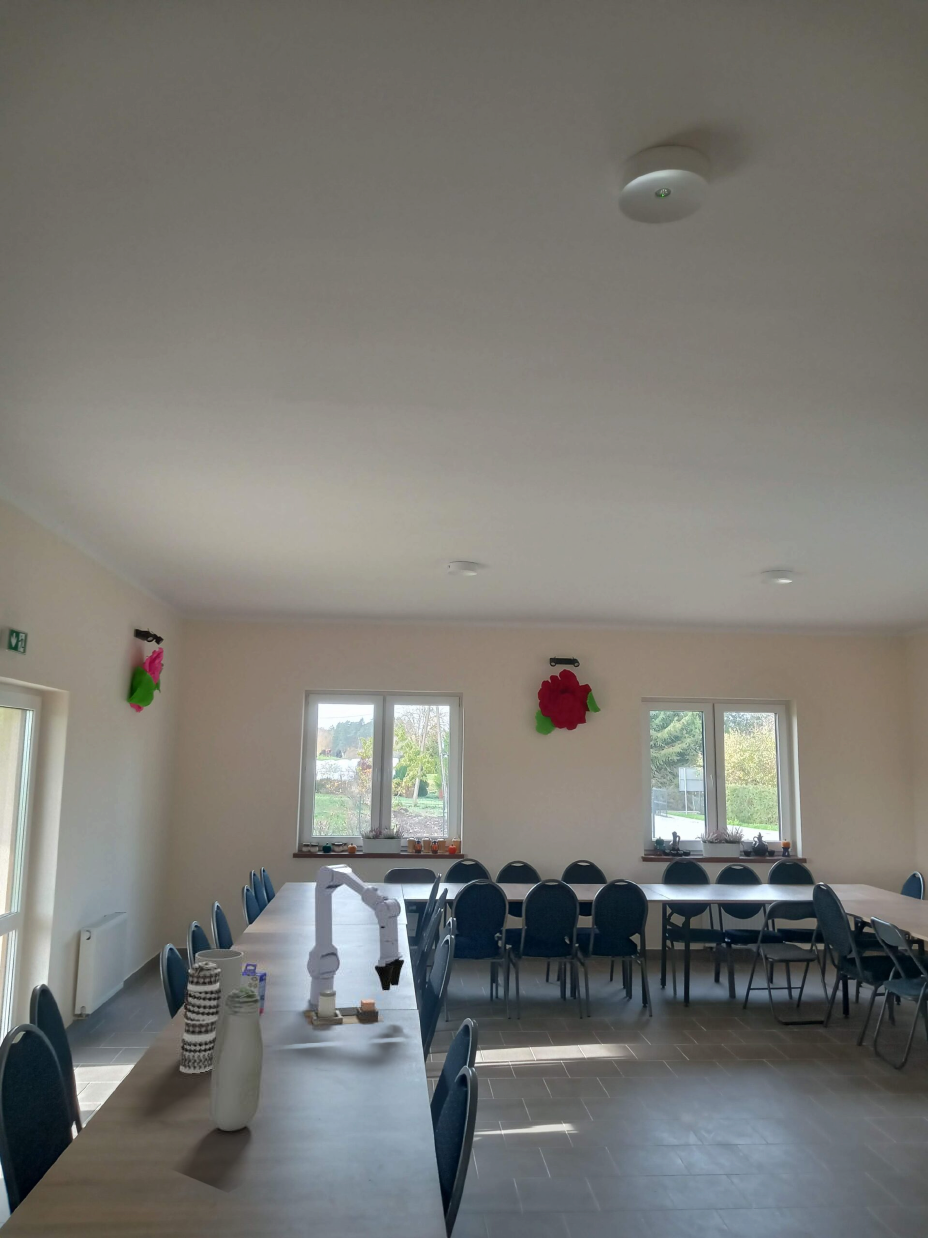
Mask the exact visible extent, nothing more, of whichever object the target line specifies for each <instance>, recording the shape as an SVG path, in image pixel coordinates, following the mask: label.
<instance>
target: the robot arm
mask: <svg viewBox="0 0 928 1238" xmlns="http://www.w3.org/2000/svg"><path fill="white" fill-rule="evenodd" d="M315 876H316V881H315V882H316V883H315V887H314V918H315V919H314V921H315V922H314V923H315V924H314V928H315V930H314V931H315V934H314V935H315V941H314V942H315V945H314V946H313V947H312V948H311V950H310V951H309V952H308V960H307V963H306V969H307V972H308V974H309V977H311V979H310V990H309V991H310V992H309V1003H310V1004H312V1005H315V1006H319V992H320V991H321V990H334V986H335V985H334V983H335V976H336V973H337V971H338V970H339V968H340V965H341V962H340V961H341V960H340V957H339V953H338V952H339V951H338V948H337V947H336V946H335V945H334V944H333V900H332V899H333V896H332V895H333V893H334V892H336V891H337V889H338V888H340V887H341V886H343V885H344V886H346V887H348V888H350V889H351V890H352V891H353V892H355V893H356V894H358V895H360V899H361V900H360V901H361V902H362V903H364V904H365V905H366V906H367V907H368V908H370V909H371V910H372V911H373V912H374V915H375V918H376V919H377V924H378V928H379V929H378V930H379V931H378V932H379V936H378V937H379V956H378V957H379V958H378V960H377V964H376V965H374V970H375V971H376V974H377V976H378V979H379V982H380V985H381V990H382V991H390V990H391V986H398V985H399V984H400V976H401V971H402V968H403V966H404V963H405V960H404V959H402V958H403V954H401V952H400V951H399V931H398V930H399V928H398V927H399V926H398V925H399V924H398V917H399V916H400V914H401V912H402V907H401V904H400V902H399V901H398V900H397V898H389V896H388V895H387V894H384V893H383V892H382V891H380V890H379V887H378V886H377V885H375V886H373V885H370V886H368V885H367V884H365V883H364V882H363V880H362V879H361V878H359V877H358V876H357V875H356V874H355V873H354V872H353V869H352V868H351V867H349V866H348V865H347V864H345V863H341V864H336V865H323V866H322V867H320V868H319V869H318V871H316V874H315Z"/></svg>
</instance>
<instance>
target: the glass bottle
mask: <svg viewBox="0 0 928 1238" xmlns="http://www.w3.org/2000/svg"><path fill="white" fill-rule="evenodd" d="M259 1010H260V998H259V995H258V993H257V991H256V990H254V989H252V988H250V987H244V988H238V989H235V990H233V991H232V992H231V993H230V994H229V995H228V996H227V998H226V1001H225V1012H224V1015H223V1019H222V1023H221V1027H220V1030H219V1032H218V1035H217V1038H216V1042H215V1045H214V1051H213V1062H212V1070H211V1081H210V1094H209V1095H210V1097H209V1112H210V1113H209V1114H210V1118H211V1121H212V1123H213V1125H215V1127H217V1128H218V1129H220V1130H221V1131H226V1132H227V1131H228V1132H235V1131H238V1130H241V1129H243V1128H244V1127H246V1126H247V1125H249V1124H250V1123H251V1122H252V1121H253V1119H254V1117H255V1115H256V1114H257V1111H258V1107H259V1102H260V1093H261V1092H260V1091H261V1081H262V1080H261V1079H262V1078H261V1077H262V1069H263V1060H264V1059H263V1058H264V1041H263V1032H262V1026H261V1023H260V1013H259Z"/></svg>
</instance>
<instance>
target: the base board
mask: <svg viewBox="0 0 928 1238" xmlns="http://www.w3.org/2000/svg"><path fill="white" fill-rule="evenodd" d="M356 1007H357V1012H356V1015H354V1016H341V1014H340V1012H339V1011H338V1010H335V1017H333V1018H318V1009H312V1010H311V1009H310V1010H302V1012H303V1014H304V1016H305V1018H306V1021H307V1023H308V1025H309V1027H317V1026H319V1027H320V1026H333V1025H334V1026H335V1025H336V1026H337V1025H351V1024H354V1025H355V1024H370V1023H371V1024H372V1023H384V1021H383V1019H382V1017H380V1015H379V1010H378V1009H377V1007H376V1006H375V1011H361V1006H356Z"/></svg>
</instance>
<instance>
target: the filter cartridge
mask: <svg viewBox="0 0 928 1238" xmlns="http://www.w3.org/2000/svg"><path fill="white" fill-rule="evenodd" d="M336 997H337V991H336V990H334V989H333V990H321V991H320V992H319V1005H318V1008H317V1010H318V1018H333V1017H335V1008H336V1000H337V998H336Z"/></svg>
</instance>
